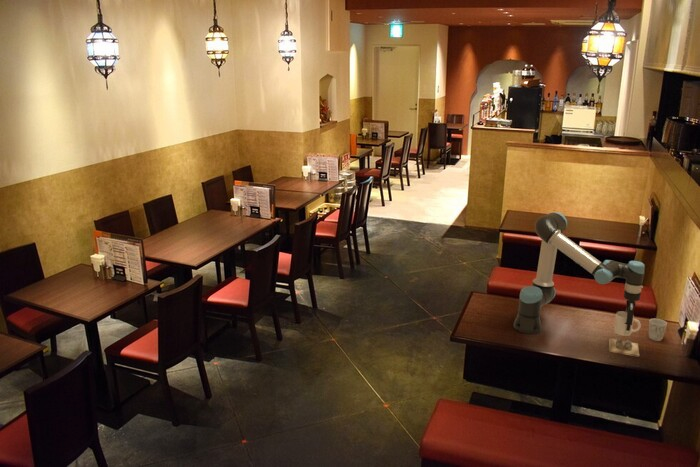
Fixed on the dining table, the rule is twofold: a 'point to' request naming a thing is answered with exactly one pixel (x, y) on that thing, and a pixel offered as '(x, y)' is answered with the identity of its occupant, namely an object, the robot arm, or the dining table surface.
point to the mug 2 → (657, 329)
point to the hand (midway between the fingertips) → (626, 331)
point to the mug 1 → (620, 323)
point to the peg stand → (623, 347)
